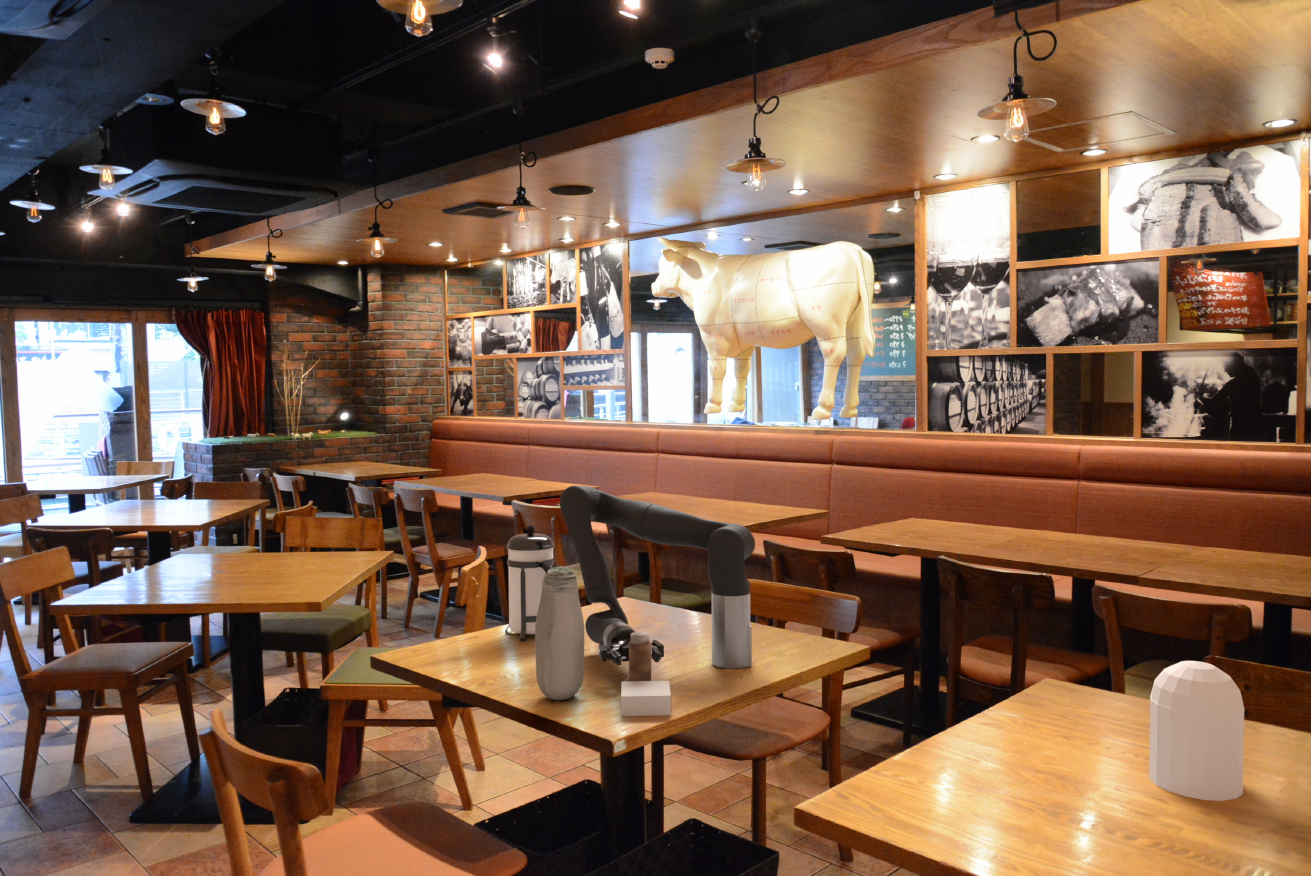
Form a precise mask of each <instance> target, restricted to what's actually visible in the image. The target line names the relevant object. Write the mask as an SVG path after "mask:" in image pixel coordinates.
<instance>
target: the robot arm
mask: <svg viewBox="0 0 1311 876" xmlns="http://www.w3.org/2000/svg"><path fill="white" fill-rule="evenodd" d="M559 507H560V511H561V512H560V513H561V515H562V518H563V520H564V522H565V525H566V527H567V531H568V533H569V537H570V539H571V542H572V544H573V547H574V550H575V554H576V557H577V559H578V563H579V567H580V572H581V576H582V582H583V585H584V590H585V596H586V599H587V601H588V602H589V603H591V604H605V605H606V606H607V607H608V608H609V609H607V610H603V611H598V612H594V613H591V614H590V615H589V616H587V618H586V620H585V622H584V629H585V633H586V634H587V636H588V638H589V639H590V640H591V641H592V642H594V643H596V644H597V645H598V657H599V658H600V660H601V662H604V663H606V662H607V661H608V660H609V661H610V662H611V663H613V664H616V666H621V665H622V663H626V662H629V642H630V641H631V633H634V632H636V631H635V629H634V628H632V627H631V626H630V625H629V621H628V617H627V616H626V614H625V612H624V610H623V608H622V606H621V605H620V602H619V600H618V598H617V596H616V593H615V589H614V587H613V581H612V577H611V572H610V568H609V565H608V562H607V559H606V558H605V556H604V554H603V552H602V549H601V548H600V547H599V544H598V542H597V539H596V538H595V534H594V531H593V528H592V527H593V526H592V523H600V524H604V525H611V526H614V527H617V528H620V529H621V530H624V531H625V532H627V533H629V534H630V535H632V536H635V537H636V538H639V539H642V540H645V541H649V542H652V543H655V544H661V545H665V546H675V547H676V546H679V547H693V548H698V549H703V550H706V551H707V570H708V571H707V573H708V581H709V583H710V586H711V664H712V665H713V666H715V667H718V668H720V669H721V668H722V669H743V668H746V667H748V666H749V667H753V665H752V664H753V662H752V661H753V655H752V654H753V651H752V650H753V647H752V646H753V645H752V642H753V638H752V637H753V636H752V634H753V631H752V630H753V628H752V625H751V581H750V580H749V579H748V578H747V576H746V571H745V570H746V567H745V564H746V563H745V560H747V559H748V558H749V557H751V555H752V554H753V553H754V551H755V549H756V540H755V537H754V535H753V533H752V532H751V531H750V530H749V529H748V528H747V527H745V526H743V525H741V524H738V523H730V522H722V521H717V520H710V519H705V518H702V517H699V516H696V515H693V514H690V513H687V512H683V511H680V510H678V509H673V508H670V507H668V506H665V505H661V504H660V505H659V504H657V503H656V504H655V503H650V502H647V501H642V500H641V501H640V500H636V499H635V500H633V499H626V498H621V497H618V496H616V495H612V494H610V493H608V492H605V491H602V490H600V489H598V488H595V487H593V486H587V485H570V486H568V487H566V488H565V489H564V490H563V491H562V493H561V494H560V498H559ZM664 657H665V645H664V644H663V643H661V642H660V641H659V640H657V639H652V640H651V660H653V662H655V663H660V661H661V660H662V658H664ZM749 667H748V668H749Z"/></svg>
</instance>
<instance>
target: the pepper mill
mask: <svg viewBox="0 0 1311 876" xmlns="http://www.w3.org/2000/svg"><path fill="white" fill-rule="evenodd" d="M651 644H652V640H650V633H649V632H646V631H635V632H634V633H631V641H630V642H629V661H628V676H629V677H628V680H629V681H652V658H651V654H652V650H651Z"/></svg>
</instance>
